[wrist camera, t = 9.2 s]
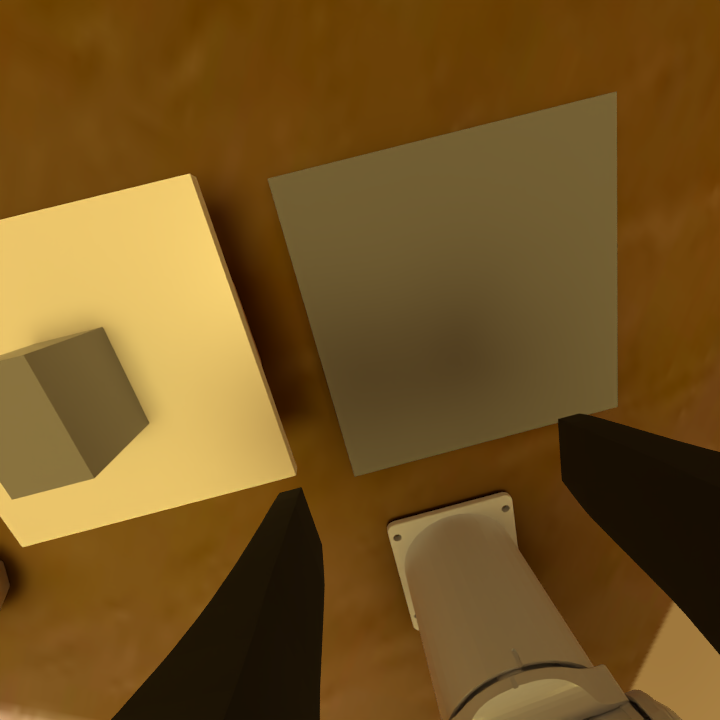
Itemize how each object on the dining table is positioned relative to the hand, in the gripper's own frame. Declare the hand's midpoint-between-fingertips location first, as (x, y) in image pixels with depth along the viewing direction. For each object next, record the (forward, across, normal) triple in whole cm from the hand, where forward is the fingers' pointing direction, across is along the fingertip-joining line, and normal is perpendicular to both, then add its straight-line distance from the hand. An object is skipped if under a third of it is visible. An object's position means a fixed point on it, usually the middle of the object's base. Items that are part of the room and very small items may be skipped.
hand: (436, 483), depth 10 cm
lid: (+6, +11, -4) cm, 13 cm away
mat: (+10, -5, -2) cm, 11 cm away
